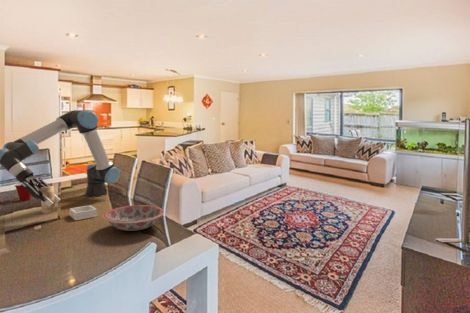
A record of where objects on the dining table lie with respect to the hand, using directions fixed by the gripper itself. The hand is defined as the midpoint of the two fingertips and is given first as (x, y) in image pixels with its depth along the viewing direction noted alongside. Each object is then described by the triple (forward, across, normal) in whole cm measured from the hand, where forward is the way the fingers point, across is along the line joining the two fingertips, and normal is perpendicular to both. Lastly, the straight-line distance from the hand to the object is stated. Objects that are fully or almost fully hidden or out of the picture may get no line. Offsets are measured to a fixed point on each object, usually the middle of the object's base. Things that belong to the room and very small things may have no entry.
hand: (54, 202), depth 155 cm
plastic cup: (-24, -40, -38) cm, 61 cm away
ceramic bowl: (+40, +11, +26) cm, 48 cm away
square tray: (+15, -8, +1) cm, 17 cm away
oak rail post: (+1, 0, -6) cm, 6 cm away
